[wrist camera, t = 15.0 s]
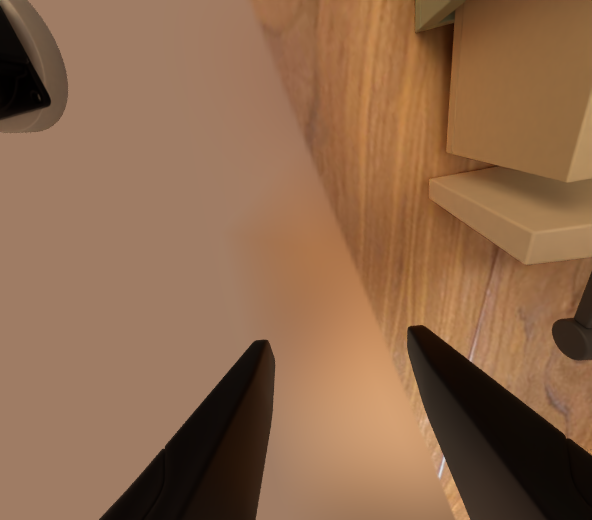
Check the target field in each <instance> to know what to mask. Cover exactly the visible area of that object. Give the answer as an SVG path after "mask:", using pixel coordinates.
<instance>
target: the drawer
mask: <svg viewBox="0 0 592 520" xmlns="http://www.w3.org/2000/svg"><path fill="white" fill-rule="evenodd" d="M446 153H450V154H453V155H457V156H461V157H465V158H469V159H473V160H477V161H481V162H485V163H489V164H493V165H498V167H493V168H487V169H481V170H476V171H470V172H465V173H459V174H453V175H448V176H442V177H436V178H431V179H430V180H429V199H431V200H432V201H434V202H435V203H436V204H438V205H439V206H441V207H442V208H444V209H445V210H447V211H448V212H449V213H451V214H452V215H454V216H455V217H457V218H458V219H460V220H461V221H462V222H464V223H465V224H467V225H468V226H470V227H471V228H472V229H474V230H475V231H477V232H478V233H480V234H481V235H483V236H484V237H485V238H487V239H488V240H490V241H491V242H493V243H494V244H496V245H497V246H498V247H500V248H501V249H503V250H504V251H506V252H507V253H509V254H510V255H511V256H513V257H514V258H516V259H517V260H519V261H520V262H521V263H523V264H525V265H533V264H541V263H549V262H557V261H566V260H574V259H582V258H590V257H592V0H466V1H465V2H464V3H463V4H461V5H460V6H459V7H458V8H456V9H455V23H454V39H453V54H452V69H451V85H450V100H449V115H448V131H447V146H446ZM552 335H553V339H554V341H555V343H556V345H557V347H558V348H559V349H560V350H561V351H562V353H564V354H565V355H566V356H567V357H569V358H571V359H574V360H592V272H591V275H590V277H589V280H588V282H587V285H586V288H585V290H584V293H583V295H582V298H581V301H580V303H579V306H578V308H577V311H576V314H575V316H574V318H567V319H560V320H557V321H556V322H555V323H554V324H553V327H552Z"/></svg>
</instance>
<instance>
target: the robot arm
mask: <svg viewBox="0 0 592 520" xmlns="http://www.w3.org/2000/svg"><path fill="white" fill-rule="evenodd" d="M38 94H39V96H40V98H41V99H39V98H38ZM50 104H51V98H50V96H49V94H48V92H47V90H46V88H45V86H44V85H43V83H42V81H41V79H40V77H39V75H38V74H37V72H36V70H35V68H34V66H33V64H32V63H31V61H30V59H29V57H28V55H27V53H26V52H25V50H24V48H23V46H22V44H21V42H20V40H19V39H18V37H17V35H16V33H15V31H14V29H13V28H12V26H11V24H10V22H9V20H8V18H7V17H6V15H5V13H4V11H3V9H2V7H1V6H0V120H3V119H7V118H11V117H14V116H18V115H21V114H25V113H28V112H32V111H36V110H39V109H43V108H46V107H49V106H50ZM407 348H408V354H409V358H410V361H411V364H412V368H413V371H414V375H415V378H416V381H417V385H418V388H419V392H420V395H421V398H422V402H423V405H424V408H425V411H426V413H427V416H428V419H429V421H430V423H431V426H432V428H433V431H434V433H435V435H436V438H437V440H438V443H439V445H440V447H441V450H442V452H443V455H444V457H445V459H446V462H447V464H448V467H449V469H450V472H451V474H452V476H453V479H454V481H455V484H456V486H457V488H458V491H459V493H460V496H461V498H462V500H463V503H464V505H465V508H466V510H467V512H468V515H469V517H470V520H592V455H590V454H589V453H588V452H587V451H585V450H584V449H583V448H581V447H580V446H579V445H578V444H576V443H575V442H574V441H572V440H571V439H569V438H567V439H566V437H565V435H564V434H563V433H562V432H561V431H559V430H558V429H557V428H555V427H554V426H553V425H552V424H550V423H549V422H548V421H546V420H545V419H544V418H543V417H541V416H540V415H539V414H537V413H536V412H535V411H533V410H532V409H531V408H530V407H528V406H527V405H526V404H524V403H523V402H522V401H521V400H519V399H518V398H517V397H515V396H514V395H513V394H512V393H510V392H509V391H508V390H506V389H505V388H504V387H503V386H501V385H500V384H499V383H497V382H496V381H495V380H494V379H492V378H491V377H490V376H488V375H487V374H486V373H485V372H483V371H482V370H481V369H479V368H478V367H477V366H476V365H474V364H473V363H472V362H470V361H469V360H468V359H467V358H465V357H464V356H463V355H461V354H460V353H459V352H458V351H456V350H455V349H454V348H452V347H451V346H450V345H449V344H447V343H446V342H445V341H443V340H442V339H441V338H440V337H438V336H437V335H436V334H434V333H433V332H432V331H431V330H429V329H428V328H427V327H425V326H423V325H417V326H410V327H408V330H407ZM274 376H275V358H274V355H273V352H272V349H271V346H270V343H269V342H268V340H256V341H254V342H253V343H252V344H251V346H250V347H249V348H248V349H247V350H246V351H245V353H244V354H243V355H242V356H241V357H240V358H239V360H238V361H237V362H236V363H235V365H234V366H233V367H232V368H231V369H230V370H229V371H228V373H227V374H226V375H225V376H224V377H223V379H222V380H221V381H220V382H219V383H218V384H217V386H216V387H215V388H214V389H213V390H212V391H211V393H210V394H209V395H208V396H207V397H206V399H205V400H204V401H203V402H202V403H201V404H200V406H199V407H198V408H197V409H196V410H195V411H194V413H193V414H192V415H191V416H190V417H189V419H188V420H187V421H186V422H185V423H184V424H183V426H182V427H181V428H180V429H179V430H178V431H177V433H176V434H175V435H174V436H173V437H172V439H171V440H170V441H169V442H168V443H167V444H166V446H165V449H162V450H161V451H160V452H159V454H158V455H157V456H156V457H155V458H154V459H153V461H152V462H151V463H150V464H149V465H148V466H147V468H146V469H145V470H144V471H143V472H142V473H141V475H140V476H139V477H138V478H137V479H136V480H135V481H134V482H133V483H132V485H131V486H130V487H129V488H128V489H127V491H125V492H124V493H123V495H122V496H121V497H120V498H119V499H118V500H117V501H116V502H115V503H114V504H113V505H112V506H111V507H110V508H109V509H108V511H107V512H106V513H105V514H104V515H103V516H102V517H101V518H100V519H99V520H256V514H257V507H258V501H259V495H260V489H261V483H262V477H263V471H264V464H265V458H266V452H267V446H268V440H269V434H270V428H271V420H272V411H273V395H274Z"/></svg>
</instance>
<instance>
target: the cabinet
mask: <svg viewBox="0 0 592 520" xmlns="http://www.w3.org/2000/svg"><path fill="white" fill-rule="evenodd" d="M465 1H466V0H415V33H418V32H421V31H425V30H429V29H433V28H437V27H440V26H444V25H448V24H452V23H455V9H456V8H458V7H459V6H460V5H461V4H463V3H464V2H465Z"/></svg>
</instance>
